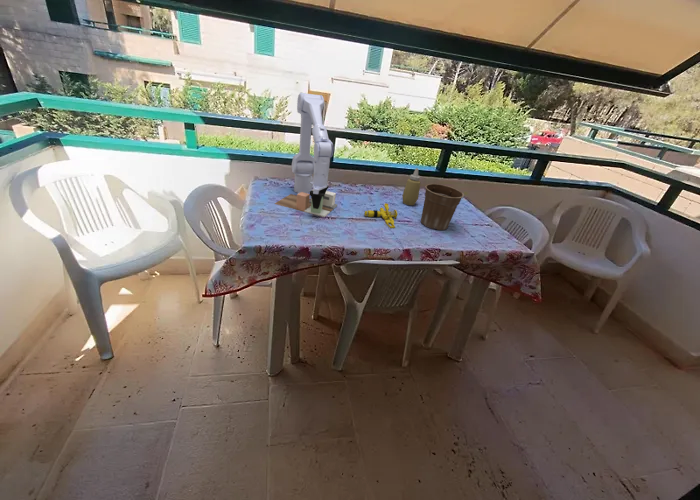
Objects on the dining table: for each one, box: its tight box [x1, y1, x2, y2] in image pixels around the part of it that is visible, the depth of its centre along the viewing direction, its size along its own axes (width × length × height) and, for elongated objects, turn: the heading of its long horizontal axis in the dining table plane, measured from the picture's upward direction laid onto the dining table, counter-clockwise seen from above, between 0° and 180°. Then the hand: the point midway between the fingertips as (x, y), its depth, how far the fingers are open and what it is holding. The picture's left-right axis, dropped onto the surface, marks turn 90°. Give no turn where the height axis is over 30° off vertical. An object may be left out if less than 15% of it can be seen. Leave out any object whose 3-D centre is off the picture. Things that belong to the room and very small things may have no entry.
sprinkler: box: [363, 202, 398, 229], centre depth 142 cm, size 19×4×15 cm
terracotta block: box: [296, 192, 311, 210], centre depth 137 cm, size 4×4×6 cm
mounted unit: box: [309, 189, 338, 210], centre depth 143 cm, size 5×12×6 cm, turn 71°
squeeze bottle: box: [401, 167, 422, 206], centre depth 160 cm, size 8×8×18 cm
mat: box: [304, 206, 331, 218], centre depth 136 cm, size 6×9×1 cm, turn 71°
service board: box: [274, 193, 337, 218], centre depth 142 cm, size 15×23×1 cm, turn 71°
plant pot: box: [420, 183, 465, 231], centre depth 141 cm, size 16×16×16 cm
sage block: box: [311, 197, 323, 213], centre depth 134 cm, size 4×4×6 cm
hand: (317, 205), depth 135 cm, fingers open, 7 cm apart
